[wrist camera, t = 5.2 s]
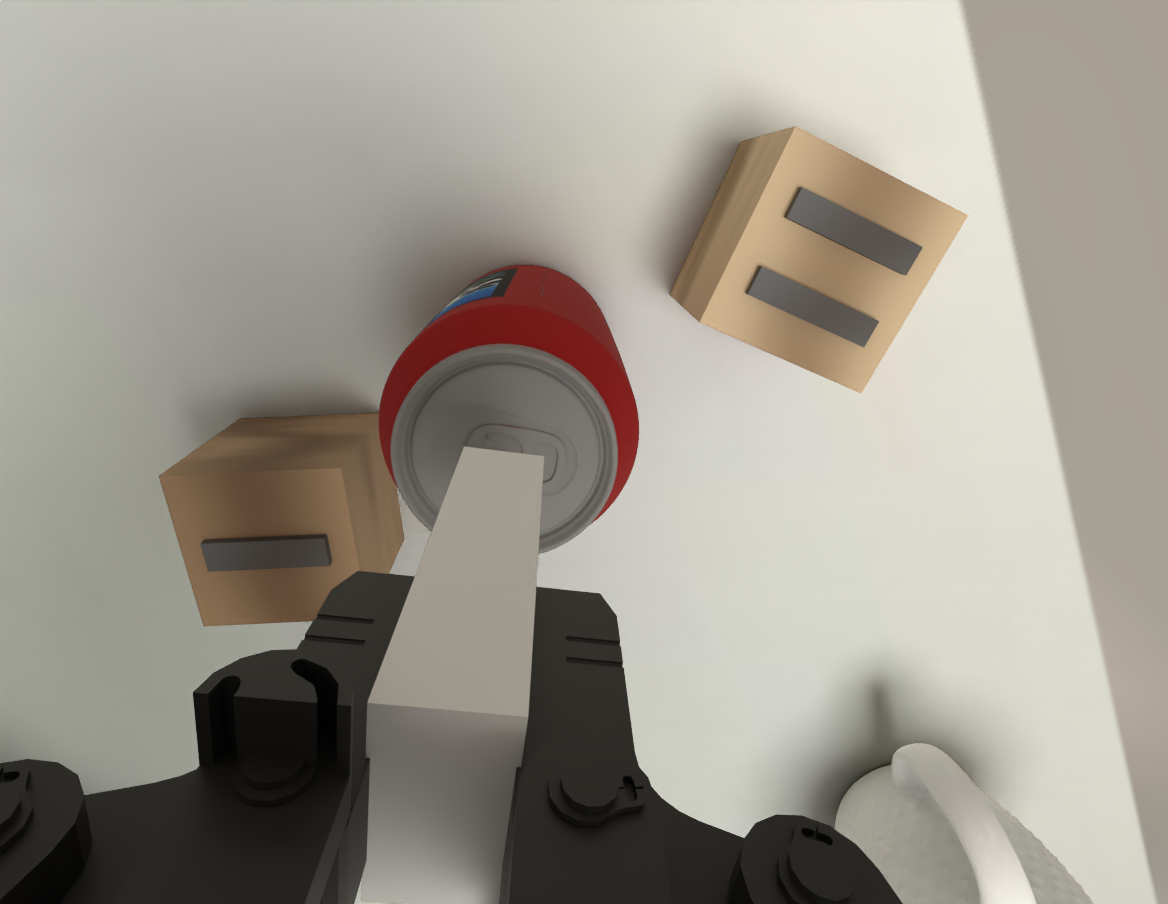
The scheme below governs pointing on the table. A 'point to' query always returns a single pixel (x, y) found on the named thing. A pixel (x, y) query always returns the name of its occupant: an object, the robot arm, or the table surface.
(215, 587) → the wooden minus sign cube
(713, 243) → the wooden equals sign cube
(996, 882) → the mug
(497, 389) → the beverage can
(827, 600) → the table surface
